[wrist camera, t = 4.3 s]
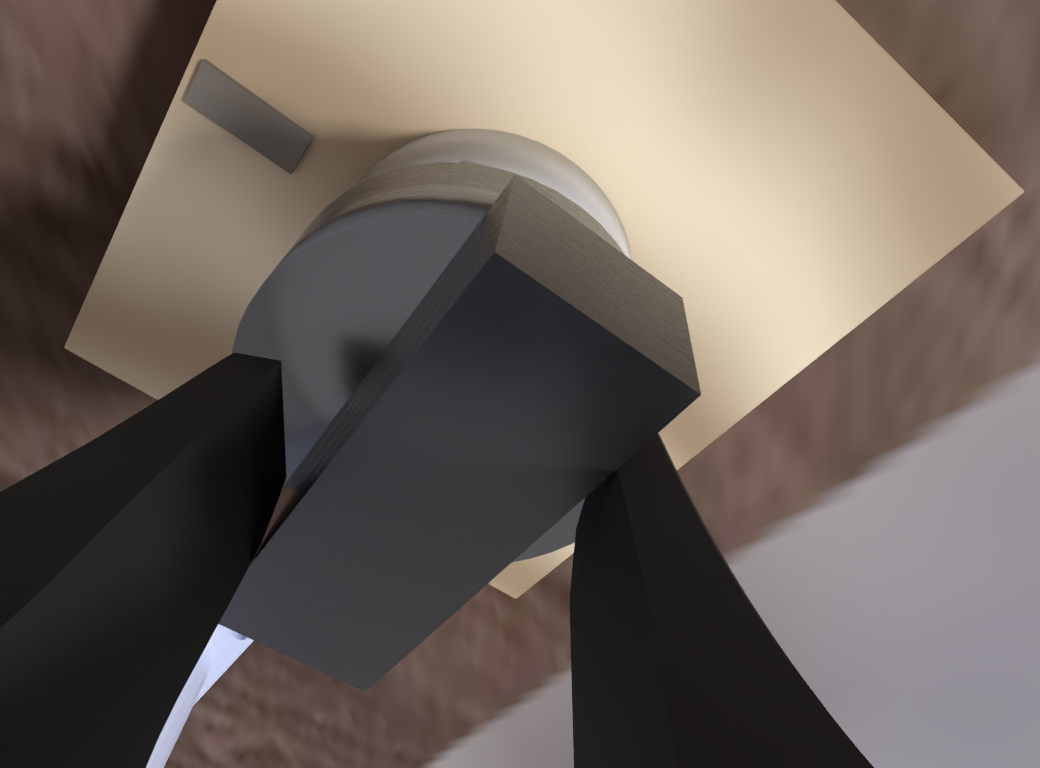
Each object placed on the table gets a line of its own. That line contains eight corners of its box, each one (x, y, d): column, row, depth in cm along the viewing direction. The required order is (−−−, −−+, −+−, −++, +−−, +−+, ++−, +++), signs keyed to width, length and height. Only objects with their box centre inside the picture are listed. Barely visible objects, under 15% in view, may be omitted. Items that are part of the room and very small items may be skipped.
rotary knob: (757, 297, 11) (823, 479, 8) (460, 572, 15) (423, 765, 12) (417, 37, 9) (321, 132, 6) (189, 427, 14) (60, 606, 10)
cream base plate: (522, 541, 21) (508, 667, 18) (114, 302, 17) (1, 404, 14) (974, 152, 14) (1091, 243, 10) (437, -387, 10) (361, -502, 7)
